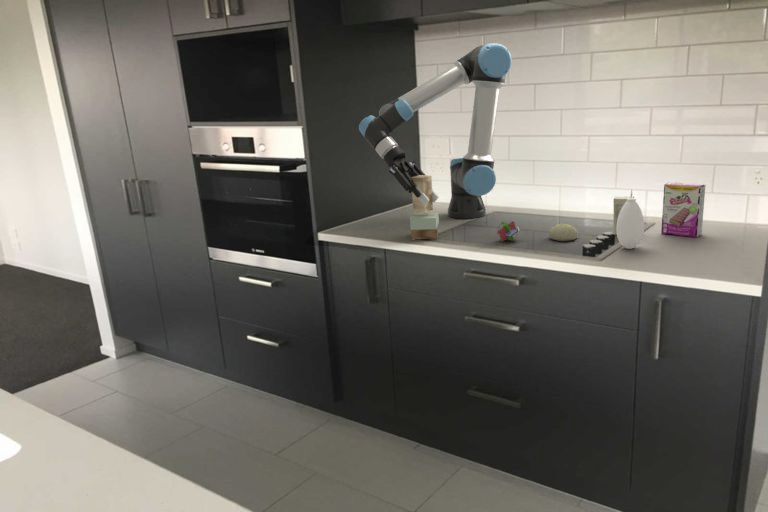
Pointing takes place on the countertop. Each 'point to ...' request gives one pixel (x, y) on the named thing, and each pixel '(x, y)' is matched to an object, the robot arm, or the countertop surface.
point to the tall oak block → (426, 187)
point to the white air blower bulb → (630, 224)
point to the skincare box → (618, 209)
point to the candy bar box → (683, 209)
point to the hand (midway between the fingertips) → (431, 201)
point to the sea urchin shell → (563, 232)
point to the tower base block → (425, 234)
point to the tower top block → (424, 221)
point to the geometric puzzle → (508, 231)
